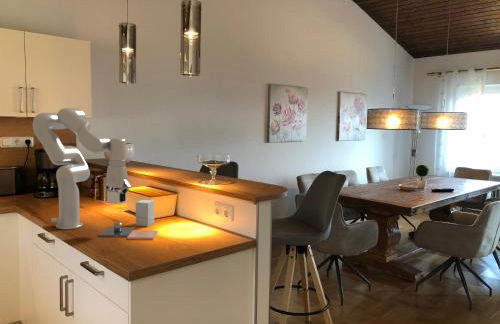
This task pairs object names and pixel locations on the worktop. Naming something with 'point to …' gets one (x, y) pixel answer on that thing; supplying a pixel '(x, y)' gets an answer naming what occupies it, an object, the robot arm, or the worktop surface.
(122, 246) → the worktop surface
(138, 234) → the coaster
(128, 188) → the robot arm
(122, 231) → the post base
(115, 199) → the pale grey cube
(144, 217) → the supplement box
